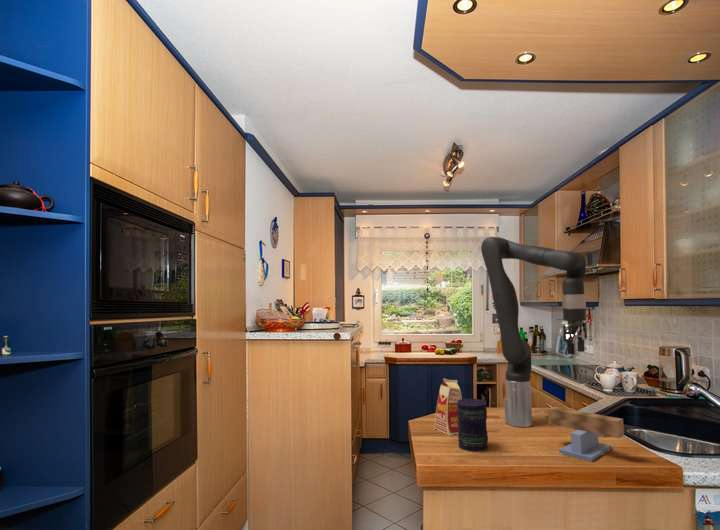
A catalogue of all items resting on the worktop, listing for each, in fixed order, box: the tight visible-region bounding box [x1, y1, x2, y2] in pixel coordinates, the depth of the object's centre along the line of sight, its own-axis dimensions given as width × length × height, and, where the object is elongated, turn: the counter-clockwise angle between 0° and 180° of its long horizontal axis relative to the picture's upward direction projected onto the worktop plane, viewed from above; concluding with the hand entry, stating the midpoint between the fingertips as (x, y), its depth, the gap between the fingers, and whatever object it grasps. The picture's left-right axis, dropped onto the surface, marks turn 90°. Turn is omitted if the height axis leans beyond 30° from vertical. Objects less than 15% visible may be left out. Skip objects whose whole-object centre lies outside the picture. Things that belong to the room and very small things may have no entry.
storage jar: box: [457, 398, 489, 453], centre depth 152 cm, size 10×10×15 cm
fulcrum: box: [558, 429, 612, 463], centre depth 145 cm, size 10×16×7 cm, turn 132°
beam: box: [547, 406, 625, 439], centre depth 146 cm, size 22×4×5 cm, turn 42°
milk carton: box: [434, 377, 463, 436], centre depth 170 cm, size 9×9×20 cm
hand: (576, 352), depth 159 cm, fingers open, 8 cm apart
